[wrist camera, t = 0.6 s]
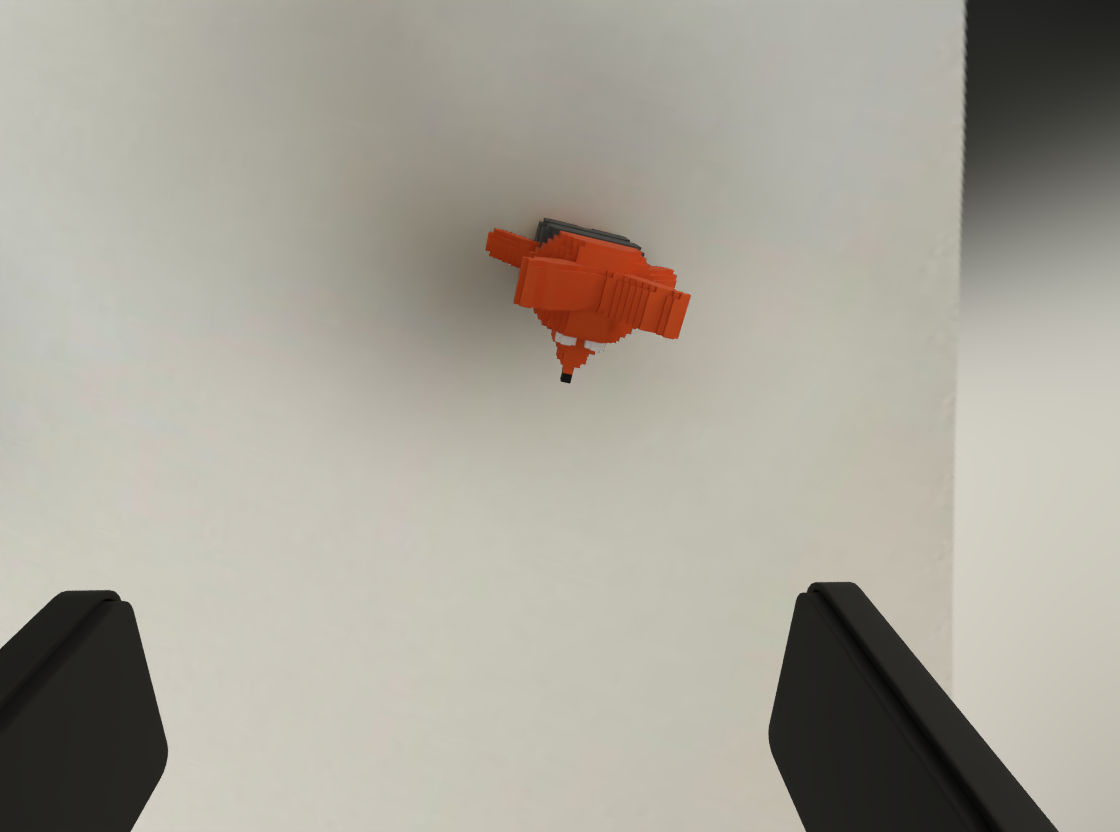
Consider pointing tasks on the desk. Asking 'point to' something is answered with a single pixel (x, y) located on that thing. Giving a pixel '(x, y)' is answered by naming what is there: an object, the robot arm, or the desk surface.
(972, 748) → the robot arm
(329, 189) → the desk surface
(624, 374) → the desk surface
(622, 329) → the toy animal
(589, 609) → the desk surface
